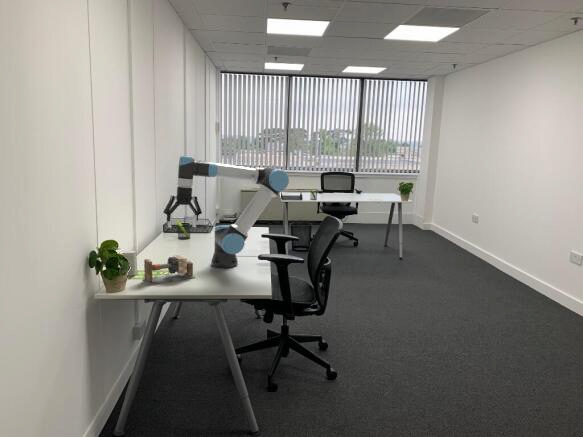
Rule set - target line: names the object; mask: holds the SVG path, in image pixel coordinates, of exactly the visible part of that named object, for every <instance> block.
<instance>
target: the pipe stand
mask: <svg viewBox="0 0 583 437" xmlns="http://www.w3.org/2000/svg"><path fill="white" fill-rule="evenodd" d="M143 262H144V264H143V266H144V270H143V271H144V278H142V281H143V282H144V283H146V284H147V286H151V285H158V284H165V283H171V282H177V281H178V282H179V281H184V280H190V279H195V278H196V277H195V275H194V263H193V262H192V261H190V260H187V273H184V274H178V273H173V274H169V275H167V274H166V275H160V276H154V277H153V272H155V271H161V270H166V269H168V268H172V264H171V263H161V264H160V263H156V264H153V261H152V260H150V259H148V258H145V259H144V260H143ZM176 265H177V267H178V262H176Z"/></svg>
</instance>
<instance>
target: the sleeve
mask: <svg viewBox="0 0 583 437" xmlns="http://www.w3.org/2000/svg"><path fill="white" fill-rule="evenodd" d="M172 257H174V258H175V260H176V262H178V267H177V269H176V272H175V273H176V274H184V273H187V261H188V258H187V257H185V256H184V255H182V254H176V255H173V256H172Z"/></svg>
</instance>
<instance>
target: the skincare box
mask: <svg viewBox="0 0 583 437" xmlns="http://www.w3.org/2000/svg"><path fill="white" fill-rule="evenodd" d="M122 255H123V256H125V257H126V258H127V260H128V261H129V264H130V267H131V269H130V271H129V272H128V275H127V276H136V275H137V274H138V258H137V250H124V251H123V252H122V253H121V256H122Z"/></svg>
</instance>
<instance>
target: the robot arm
mask: <svg viewBox="0 0 583 437" xmlns="http://www.w3.org/2000/svg"><path fill="white" fill-rule="evenodd" d="M177 172H178V174H177V188H176V196H175V195H170V196H169V197H170V198H169V201H168V202H167V204H166V205H165V208H164V209H163V214H165V215H166V221H167V228H169V229H172V223H173V215H172V214H173V213H174V212H175V211H176V209H177V208H178V207H179V206H181V205H183V206H188V207H189V208H190V209H191V211H192V212H193V214H192V228H197V222H198V220H199V216H200V215H202V214H203V211H202V208H201V206H200V204H199V201H198V196H196V195H193V184H194V181H193V180H194V177H203V178H204V177H205V178H215V177H216V178H223V179H230V180H237V181H245V182H252V183H253V184H254V185H259V189H258V191H256V193H255V194H254V196H253V198H251V200H250V202H249V203H248V204H247V206H246V207H245V209H244V210H243V212H241V214H240V215H239V217H238V218H237V220H236V221H235V222H234V223H232V224H227V225H226V224H223V225H216V226H215V227H214V251H213V255H212V257H211V260H210V262H211V263H210V264H211V265H210V266H212V267H214V268H220V269H229V268H234V267H237V266H238V262H239V261H238V257H237V255H236V254H239V253H241V252H242V250H244V248H245V244H246V243H245V242H246V240H247V238H249V237H248V236H249V234H248V233H249V231H250V230H251V229H252V227H253V226H254V224H255V223H256V222H257V220H258V219H259V217H260V216H261V215H262V213H263V212H264V210H265V209H266V208H267V206H268V204H269V203H270V202H271V200H272V199H274V198H276V197H277V196H279V194H280V192H282V191H284V190H286V188H288V186H289V184H290V183H289V182H290V180H289V175H288V174H287V172H286V171H284V170H283V169H281V168H275V167H258V166H255V167H254V168H253V167H245V166H239V165H232V164H224V163H219V162H212V161H211V162H210V161H205V160H195V157H193V156H188V155H187V156H185V155H181V156H180V157H179V159H178V171H177ZM192 195H193V196H192ZM175 200H176V201H175ZM192 201H193V203H194V205H193V203H192ZM174 202H175V203H174Z"/></svg>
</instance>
